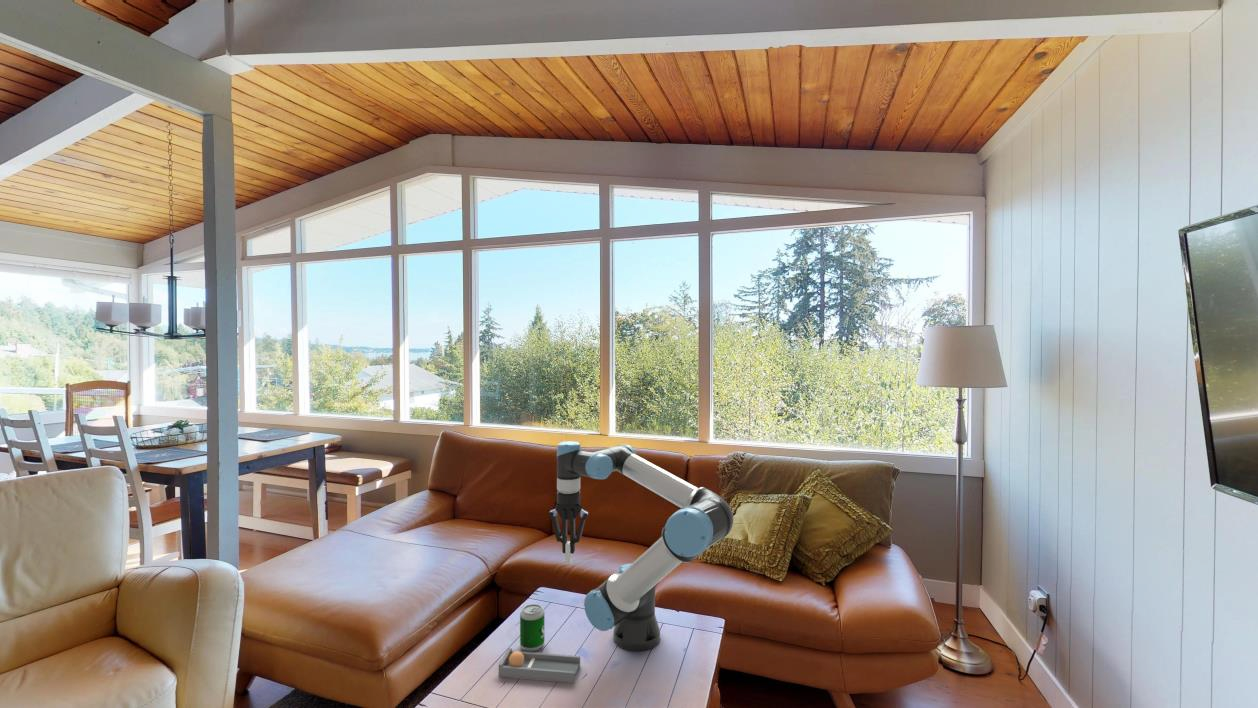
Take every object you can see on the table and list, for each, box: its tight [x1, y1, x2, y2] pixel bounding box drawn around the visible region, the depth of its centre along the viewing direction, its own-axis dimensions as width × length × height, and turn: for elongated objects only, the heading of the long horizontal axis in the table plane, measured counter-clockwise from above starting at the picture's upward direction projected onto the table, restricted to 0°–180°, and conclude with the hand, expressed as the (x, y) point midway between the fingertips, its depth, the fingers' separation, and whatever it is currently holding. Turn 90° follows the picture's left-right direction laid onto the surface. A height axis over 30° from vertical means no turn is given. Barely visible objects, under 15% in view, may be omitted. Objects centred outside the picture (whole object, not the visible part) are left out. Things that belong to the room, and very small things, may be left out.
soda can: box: [519, 603, 545, 653], centre depth 169 cm, size 8×8×12 cm
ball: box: [509, 650, 524, 667], centre depth 157 cm, size 4×4×4 cm
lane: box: [498, 647, 581, 684], centre depth 157 cm, size 22×8×4 cm, turn 83°
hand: (568, 562), depth 174 cm, fingers closed
